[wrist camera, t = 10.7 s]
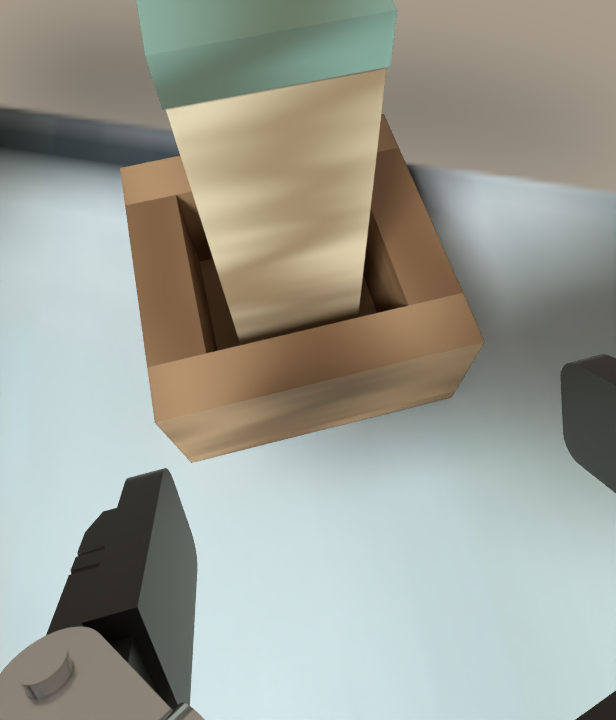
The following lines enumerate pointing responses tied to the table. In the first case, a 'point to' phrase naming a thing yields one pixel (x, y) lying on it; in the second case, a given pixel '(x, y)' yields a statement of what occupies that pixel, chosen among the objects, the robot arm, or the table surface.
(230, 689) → the table surface
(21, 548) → the table surface
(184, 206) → the socket block
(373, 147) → the peg
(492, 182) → the table surface
